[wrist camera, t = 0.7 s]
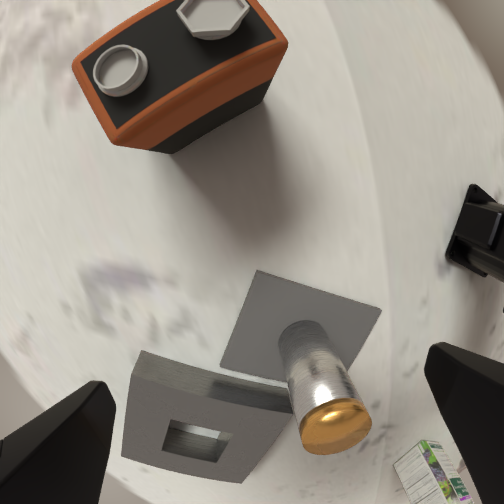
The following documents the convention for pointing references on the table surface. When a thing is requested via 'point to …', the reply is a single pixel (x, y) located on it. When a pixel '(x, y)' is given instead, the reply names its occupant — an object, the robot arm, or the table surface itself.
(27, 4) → the table surface
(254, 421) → the block
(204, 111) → the battery
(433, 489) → the syrup box
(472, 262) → the robot arm
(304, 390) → the silver copper cylinder
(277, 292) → the mat
